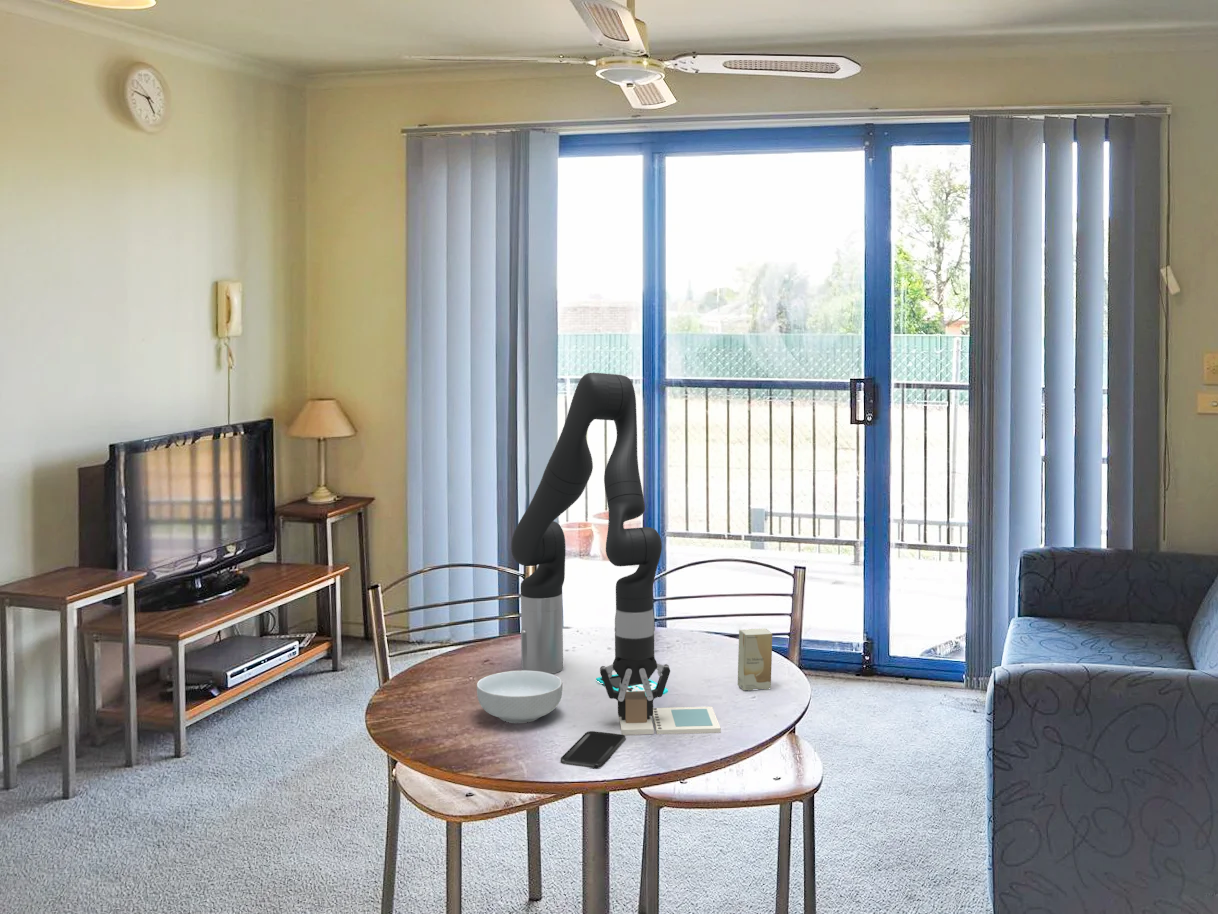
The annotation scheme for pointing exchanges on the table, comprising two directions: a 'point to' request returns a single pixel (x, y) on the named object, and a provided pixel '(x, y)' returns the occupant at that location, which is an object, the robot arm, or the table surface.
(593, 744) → the phone
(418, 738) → the table surface
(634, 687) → the handheld game console
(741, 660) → the skincare box
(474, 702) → the table surface
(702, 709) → the ticket pad
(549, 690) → the cereal bowl
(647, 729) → the brown cream block
